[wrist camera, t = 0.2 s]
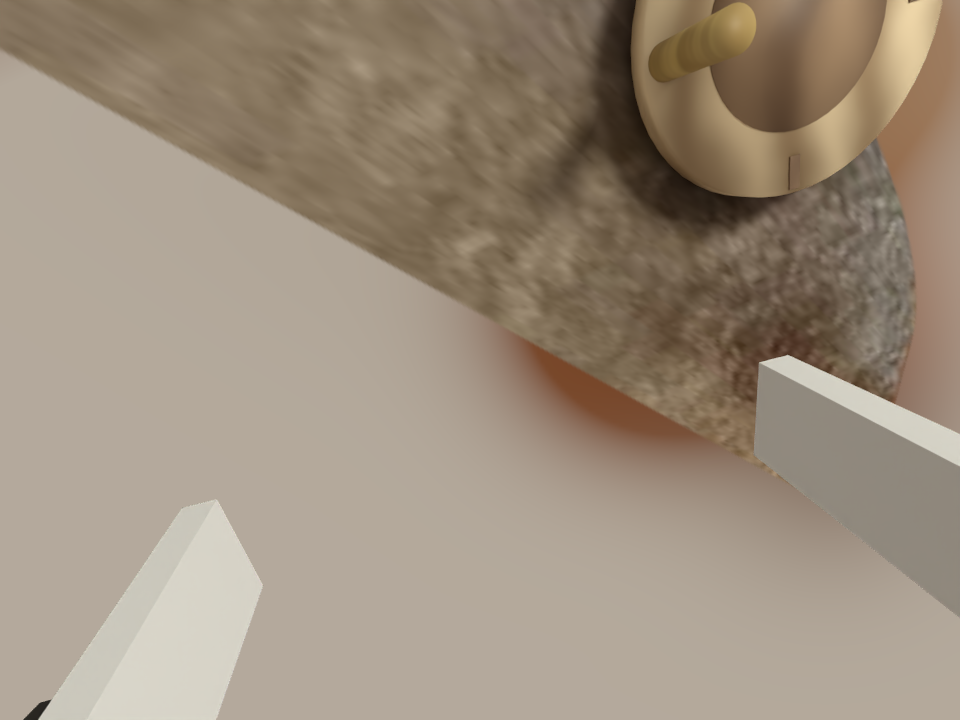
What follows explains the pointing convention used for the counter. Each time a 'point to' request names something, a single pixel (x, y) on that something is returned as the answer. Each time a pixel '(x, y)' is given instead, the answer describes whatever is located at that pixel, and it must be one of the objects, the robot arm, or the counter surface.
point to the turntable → (773, 84)
